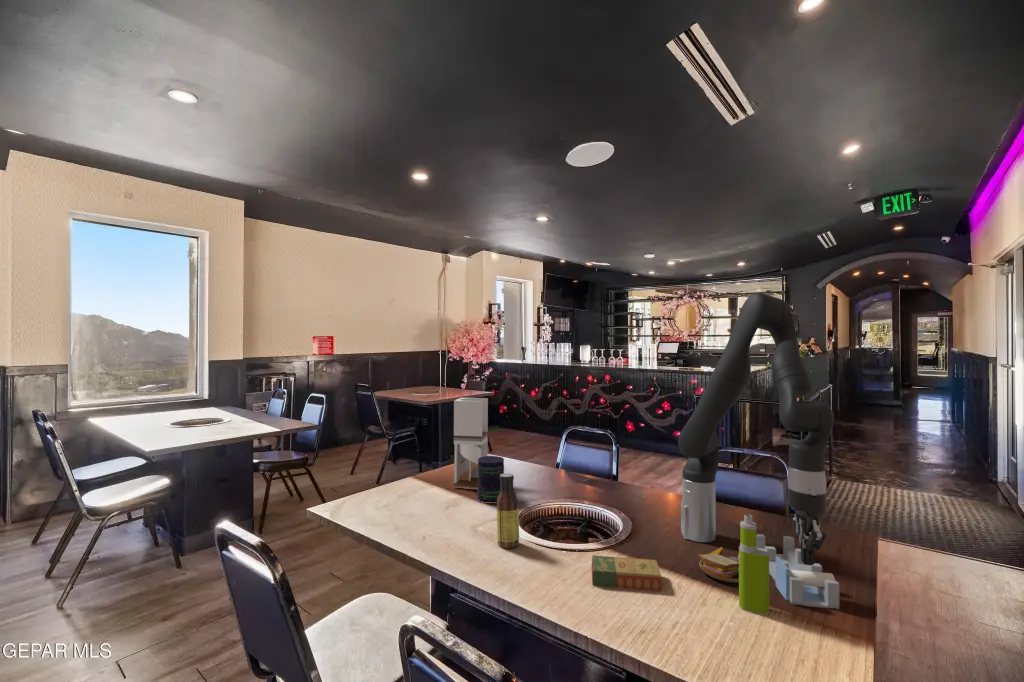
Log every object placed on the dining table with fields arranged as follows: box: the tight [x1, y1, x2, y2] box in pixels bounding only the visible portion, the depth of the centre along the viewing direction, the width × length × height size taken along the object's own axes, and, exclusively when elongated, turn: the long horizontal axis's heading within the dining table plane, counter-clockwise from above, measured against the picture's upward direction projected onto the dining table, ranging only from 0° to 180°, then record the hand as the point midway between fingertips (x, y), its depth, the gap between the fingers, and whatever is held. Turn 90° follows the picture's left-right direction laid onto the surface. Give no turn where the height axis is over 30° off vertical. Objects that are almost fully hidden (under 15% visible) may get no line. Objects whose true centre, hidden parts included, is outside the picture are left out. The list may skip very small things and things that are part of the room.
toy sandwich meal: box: [698, 546, 739, 584], centre depth 118 cm, size 12×14×5 cm
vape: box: [737, 513, 770, 615], centre depth 102 cm, size 4×6×20 cm, turn 67°
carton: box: [591, 554, 663, 593], centre depth 113 cm, size 8×16×4 cm, turn 81°
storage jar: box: [477, 455, 505, 502], centre depth 172 cm, size 10×10×15 cm
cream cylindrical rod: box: [789, 570, 836, 587], centre depth 106 cm, size 10×3×3 cm, turn 79°
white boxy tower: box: [452, 397, 489, 488], centre depth 190 cm, size 11×11×35 cm
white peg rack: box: [757, 533, 840, 610], centre depth 115 cm, size 10×26×7 cm, turn 169°
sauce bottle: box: [496, 472, 520, 549], centre depth 133 cm, size 6×6×20 cm
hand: (807, 563), depth 107 cm, fingers closed
